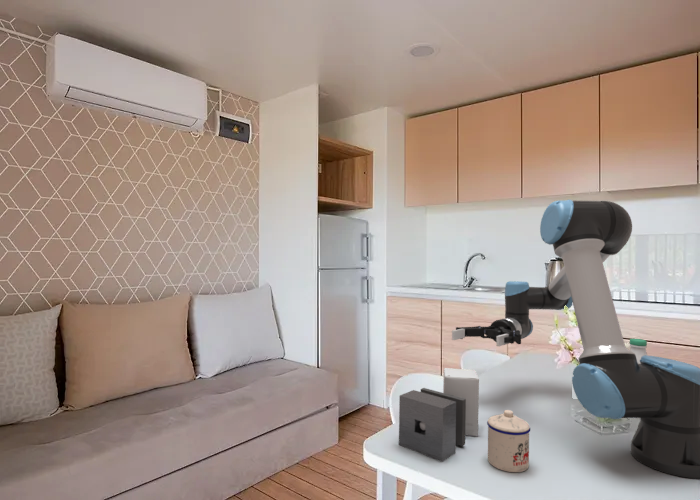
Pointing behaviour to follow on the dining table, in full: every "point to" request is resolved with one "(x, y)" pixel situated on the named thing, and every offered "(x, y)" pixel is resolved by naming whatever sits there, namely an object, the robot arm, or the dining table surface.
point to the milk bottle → (638, 348)
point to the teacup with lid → (508, 442)
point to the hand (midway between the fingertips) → (474, 338)
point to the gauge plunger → (459, 414)
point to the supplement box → (464, 394)
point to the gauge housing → (427, 424)
